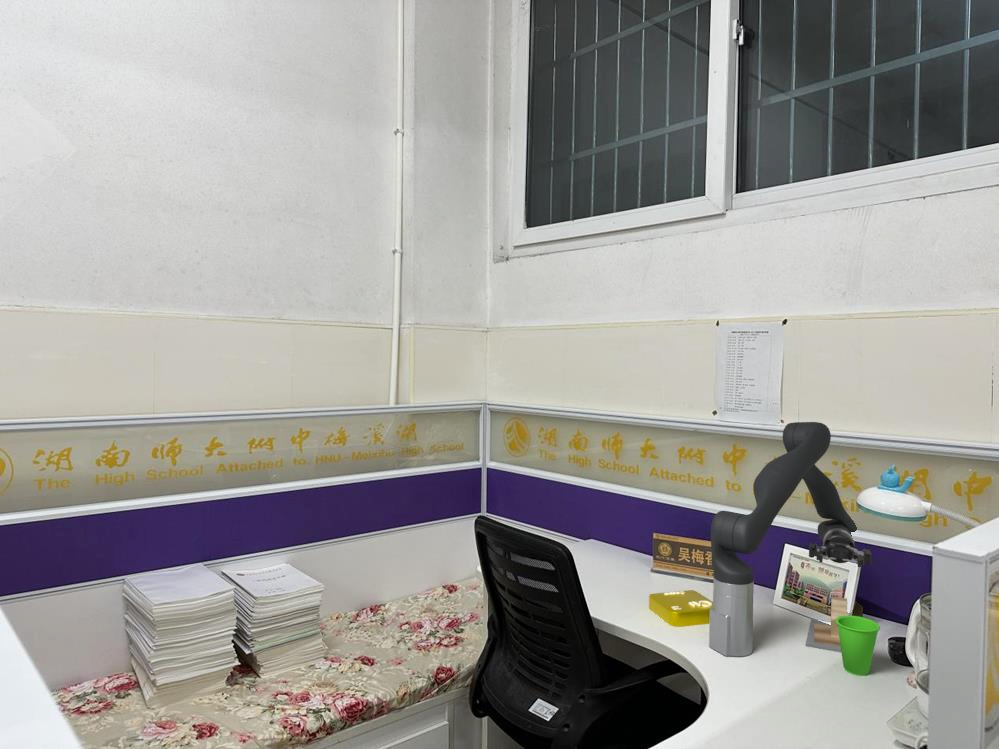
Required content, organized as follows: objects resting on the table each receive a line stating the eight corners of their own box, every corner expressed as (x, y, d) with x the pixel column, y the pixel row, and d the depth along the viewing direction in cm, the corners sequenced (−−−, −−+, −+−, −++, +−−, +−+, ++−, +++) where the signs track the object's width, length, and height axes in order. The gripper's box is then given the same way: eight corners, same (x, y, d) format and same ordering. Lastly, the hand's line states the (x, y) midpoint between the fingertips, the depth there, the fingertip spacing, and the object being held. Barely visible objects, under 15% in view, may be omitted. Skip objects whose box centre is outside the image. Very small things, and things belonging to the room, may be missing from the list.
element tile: (693, 604, 202) (694, 587, 202) (723, 623, 188) (723, 606, 188) (646, 608, 199) (646, 591, 198) (672, 629, 184) (672, 611, 184)
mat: (865, 656, 167) (865, 654, 167) (805, 645, 173) (805, 643, 173) (865, 630, 183) (865, 627, 183) (811, 620, 189) (811, 618, 189)
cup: (884, 681, 155) (886, 632, 154) (840, 677, 156) (841, 628, 156) (871, 663, 163) (872, 617, 163) (829, 660, 165) (830, 613, 165)
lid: (864, 650, 169) (865, 610, 169) (814, 642, 174) (815, 603, 173) (861, 633, 179) (862, 595, 179) (814, 626, 184) (815, 589, 183)
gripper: (810, 527, 191) (809, 542, 176) (869, 534, 185) (873, 549, 170) (809, 555, 191) (808, 571, 176) (868, 562, 185) (872, 580, 170)
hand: (840, 560), depth 173 cm, fingers open, 8 cm apart
